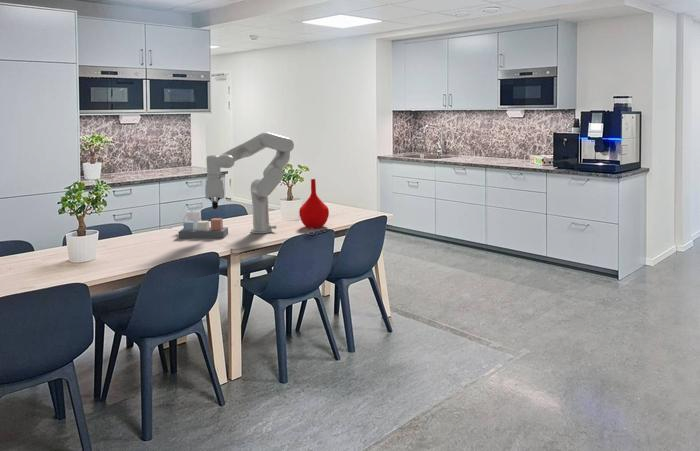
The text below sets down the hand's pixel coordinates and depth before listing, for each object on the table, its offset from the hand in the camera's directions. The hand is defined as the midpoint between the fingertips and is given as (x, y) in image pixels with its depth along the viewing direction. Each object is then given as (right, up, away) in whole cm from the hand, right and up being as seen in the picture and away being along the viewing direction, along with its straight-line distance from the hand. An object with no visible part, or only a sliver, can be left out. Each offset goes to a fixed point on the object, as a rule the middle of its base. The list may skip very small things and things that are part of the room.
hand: (215, 208), depth 352 cm
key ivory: (-7, -14, +3) cm, 16 cm away
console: (-7, -16, +3) cm, 18 cm away
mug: (-18, -13, +19) cm, 30 cm away
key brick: (+1, -12, +3) cm, 13 cm away
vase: (+56, -11, +26) cm, 63 cm away
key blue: (-15, -14, +3) cm, 21 cm away
